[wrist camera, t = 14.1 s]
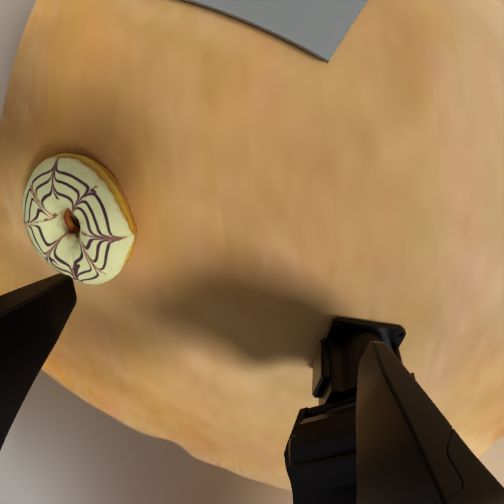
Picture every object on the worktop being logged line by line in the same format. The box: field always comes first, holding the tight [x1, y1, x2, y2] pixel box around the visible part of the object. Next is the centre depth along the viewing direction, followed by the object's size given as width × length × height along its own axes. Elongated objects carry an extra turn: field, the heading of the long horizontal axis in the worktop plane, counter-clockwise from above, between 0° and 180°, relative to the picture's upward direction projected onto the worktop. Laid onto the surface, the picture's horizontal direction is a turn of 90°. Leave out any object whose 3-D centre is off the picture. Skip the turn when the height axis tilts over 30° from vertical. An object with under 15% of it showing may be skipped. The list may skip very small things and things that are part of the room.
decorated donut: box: [22, 153, 137, 284], centre depth 21 cm, size 10×11×4 cm
